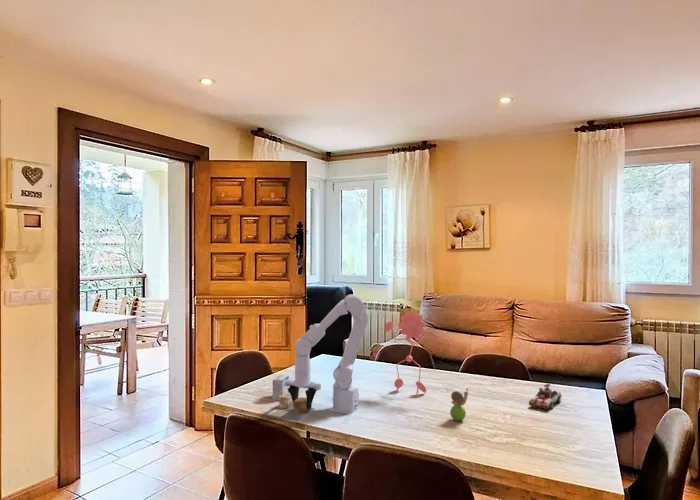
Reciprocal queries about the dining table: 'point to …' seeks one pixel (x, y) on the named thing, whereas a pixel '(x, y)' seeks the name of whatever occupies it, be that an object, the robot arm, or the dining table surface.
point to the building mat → (286, 413)
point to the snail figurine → (458, 405)
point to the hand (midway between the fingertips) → (302, 406)
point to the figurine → (410, 328)
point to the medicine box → (280, 386)
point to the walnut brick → (300, 405)
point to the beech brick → (285, 401)
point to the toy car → (546, 398)
